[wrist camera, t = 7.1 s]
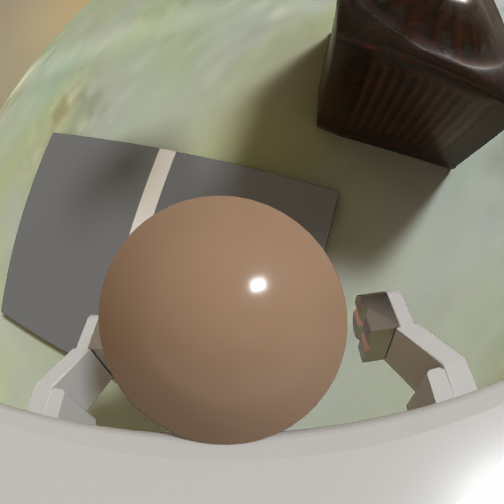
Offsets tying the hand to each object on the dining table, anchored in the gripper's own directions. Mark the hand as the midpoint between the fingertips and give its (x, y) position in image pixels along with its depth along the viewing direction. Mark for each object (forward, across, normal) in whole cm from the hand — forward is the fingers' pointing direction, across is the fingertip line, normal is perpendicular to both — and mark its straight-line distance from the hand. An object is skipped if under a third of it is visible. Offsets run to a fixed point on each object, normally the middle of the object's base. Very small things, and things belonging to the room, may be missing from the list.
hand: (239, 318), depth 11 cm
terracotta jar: (+5, 0, +5) cm, 7 cm away
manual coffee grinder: (+16, -9, -5) cm, 19 cm away
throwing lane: (+8, +7, +3) cm, 11 cm away
